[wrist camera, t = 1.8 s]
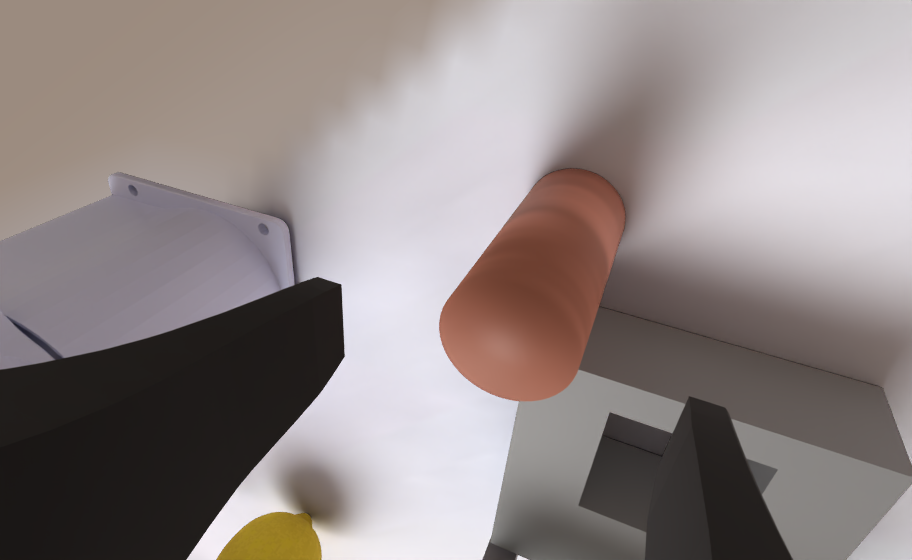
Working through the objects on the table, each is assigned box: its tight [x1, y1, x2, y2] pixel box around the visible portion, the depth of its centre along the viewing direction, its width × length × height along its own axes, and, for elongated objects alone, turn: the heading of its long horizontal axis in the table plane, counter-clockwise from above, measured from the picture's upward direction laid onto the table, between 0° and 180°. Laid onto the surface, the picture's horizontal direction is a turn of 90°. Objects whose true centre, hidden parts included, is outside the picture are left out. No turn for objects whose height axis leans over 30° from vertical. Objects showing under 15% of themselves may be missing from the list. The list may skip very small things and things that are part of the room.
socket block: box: [483, 307, 912, 560], centre depth 18 cm, size 11×12×7 cm
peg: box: [439, 168, 625, 401], centre depth 15 cm, size 3×3×7 cm
